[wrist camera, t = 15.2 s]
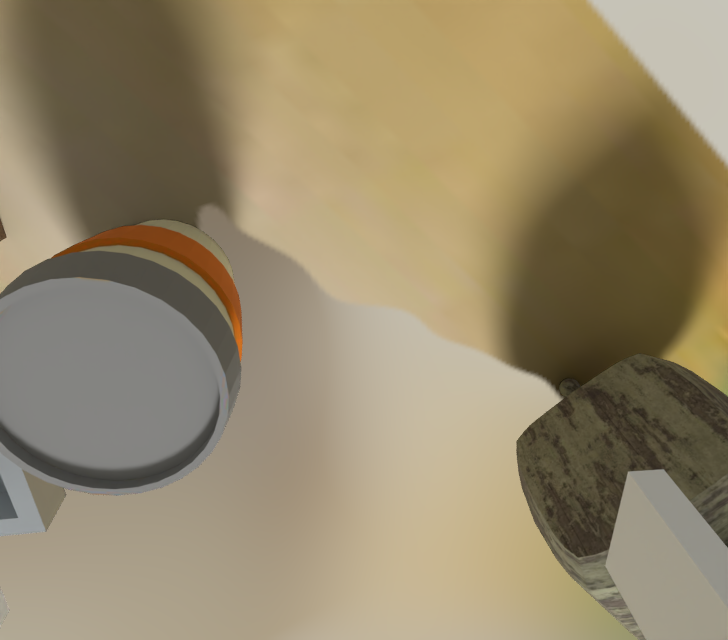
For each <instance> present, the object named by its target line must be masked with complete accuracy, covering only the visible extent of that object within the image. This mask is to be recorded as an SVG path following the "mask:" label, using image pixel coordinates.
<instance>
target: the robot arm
mask: <svg viewBox="0 0 728 640" xmlns="http://www.w3.org/2000/svg"><path fill="white" fill-rule="evenodd" d="M605 567H606V568H607V570H608V572H609V574H610V576H611V577H612V579H613V581H614V583H615V585H616V586H617V588H618V590H619V592H620V594H621V596H622V597H623V599H624V601H625V603H626V605H627V606H628V608H629V610H630V612H631V614H632V615H633V617H634V619H635V621H636V623H637V624H638V626H639V628H640V630H641V632H642V633H643V635H644V637H645V639H646V640H728V548H727V546H726V545H725V544H724V543H723V541H722V540H721V539H720V538H719V537H718V535H717V534H716V533H715V532H714V530H713V529H712V528H711V527H710V526H709V524H708V523H707V522H706V521H705V519H704V518H703V517H702V516H701V514H700V513H699V512H698V511H697V510H696V508H695V507H694V506H693V505H692V503H691V502H690V501H689V500H688V499H687V497H686V496H685V495H684V494H683V492H682V491H681V490H680V489H679V488H678V486H677V485H676V484H675V483H674V481H673V480H672V479H671V478H670V477H669V475H668V474H667V473H666V472H665V470H664V469H660V470H645V471H629V472H628V474H627V478H626V482H625V486H624V491H623V495H622V499H621V503H620V507H619V511H618V515H617V519H616V523H615V528H614V532H613V536H612V540H611V544H610V548H609V552H608V556H607V560H606V565H605ZM9 610H10V609H9V607H8V604H7V602H6V599H5V597H4V594H3V592H2V590H1V587H0V627H1V626H2V624H3V622H4V620H5V618H6V616H7V614H8V613H9Z"/></svg>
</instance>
